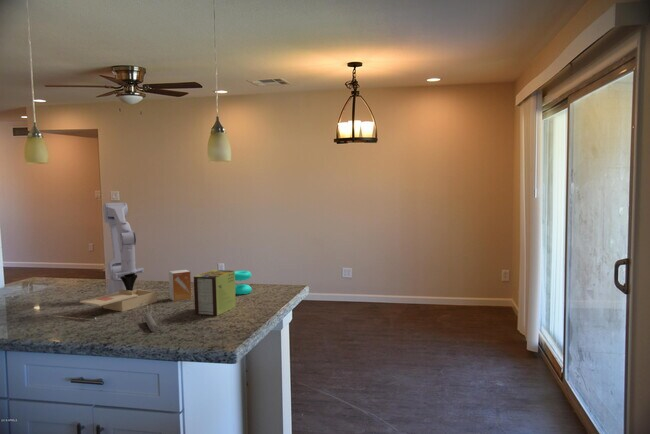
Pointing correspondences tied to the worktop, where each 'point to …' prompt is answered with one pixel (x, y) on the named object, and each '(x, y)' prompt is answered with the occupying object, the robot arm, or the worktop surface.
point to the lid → (110, 298)
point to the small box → (180, 285)
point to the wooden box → (133, 301)
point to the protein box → (214, 292)
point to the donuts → (242, 287)
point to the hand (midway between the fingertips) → (129, 291)
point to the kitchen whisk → (148, 319)
